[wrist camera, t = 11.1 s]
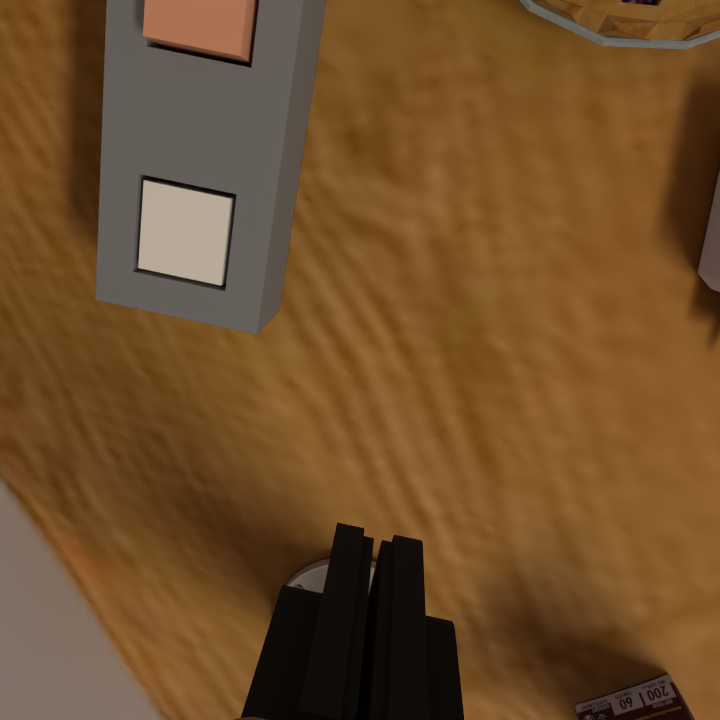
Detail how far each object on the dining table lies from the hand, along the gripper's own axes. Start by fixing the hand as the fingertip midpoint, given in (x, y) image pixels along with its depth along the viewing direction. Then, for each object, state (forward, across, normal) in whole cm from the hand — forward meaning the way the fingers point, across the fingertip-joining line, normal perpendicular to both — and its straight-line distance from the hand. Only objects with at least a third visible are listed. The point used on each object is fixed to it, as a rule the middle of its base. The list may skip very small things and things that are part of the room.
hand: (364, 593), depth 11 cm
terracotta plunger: (+28, +13, -14) cm, 34 cm away
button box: (+29, +13, -8) cm, 32 cm away
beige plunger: (+29, +13, -2) cm, 32 cm away
